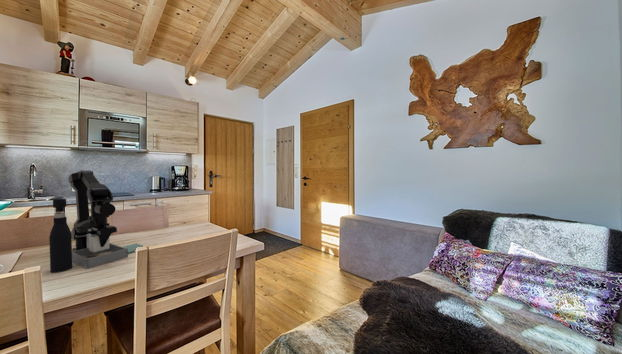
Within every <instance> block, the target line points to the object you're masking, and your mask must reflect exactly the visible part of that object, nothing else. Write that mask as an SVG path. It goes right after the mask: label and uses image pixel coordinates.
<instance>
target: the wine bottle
mask: <svg viewBox="0 0 622 354" xmlns="http://www.w3.org/2000/svg"><path fill="white" fill-rule="evenodd" d="M65 207H67V199H66V198H55V199H54V198H53V199H52V208H54V209H55V212H54V216H53V226H52V227H51V230H50V232H49V239H48V240H49V272H50V273H55V274H56V273H61V272H65V271H68V270H70V269H72V268H73V262H72V251H73V247H72V241H73V239H71V231H72V230H71V229H70V227H69V225H68V222H67V215H66V212H65Z"/></svg>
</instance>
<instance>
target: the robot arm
mask: <svg viewBox="0 0 622 354" xmlns="http://www.w3.org/2000/svg"><path fill="white" fill-rule="evenodd" d="M67 180H68V183H69V185H70V188H72V190H74V191H75V203H76V204H75V205H76V215H77V216H76V220H75V222H74V223H73V227H72V229H71V230H70V231H71V239H72V241H75V247H72V251H77V250H81V249H85V248H87V234H91V235H97V236H98V237H99V241H100V246H101V247H104V246H105V244H106V242H107V240H108V238H109V239H110V237H111V236H112V234H114V233H117V232H118V228H117V227H116V226H114V225H110V223H109V222H108V218H110V217H111V216H112V215H113V214H114V213H115V212H116V206H115V205H114V204H112V203H111V202H113V201H114V196H113V193H112V191H111V190H110V188H108V186H106V184H102V183H100V181H99V180H98V179H97V178H96V176H95V174H94V171H93V170H79V171H77V172H74V173H71V174H70V175H69V176H68V179H67ZM89 203H90V205H89Z"/></svg>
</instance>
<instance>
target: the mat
mask: <svg viewBox="0 0 622 354" xmlns="http://www.w3.org/2000/svg"><path fill="white" fill-rule="evenodd" d="M143 246H144V245H142V244H139V243H132V244H128V245H125V246H123V247H124V248H127V249H128V255H130V254H134V253H136V252H135V250H136V248H137V247H143Z"/></svg>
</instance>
